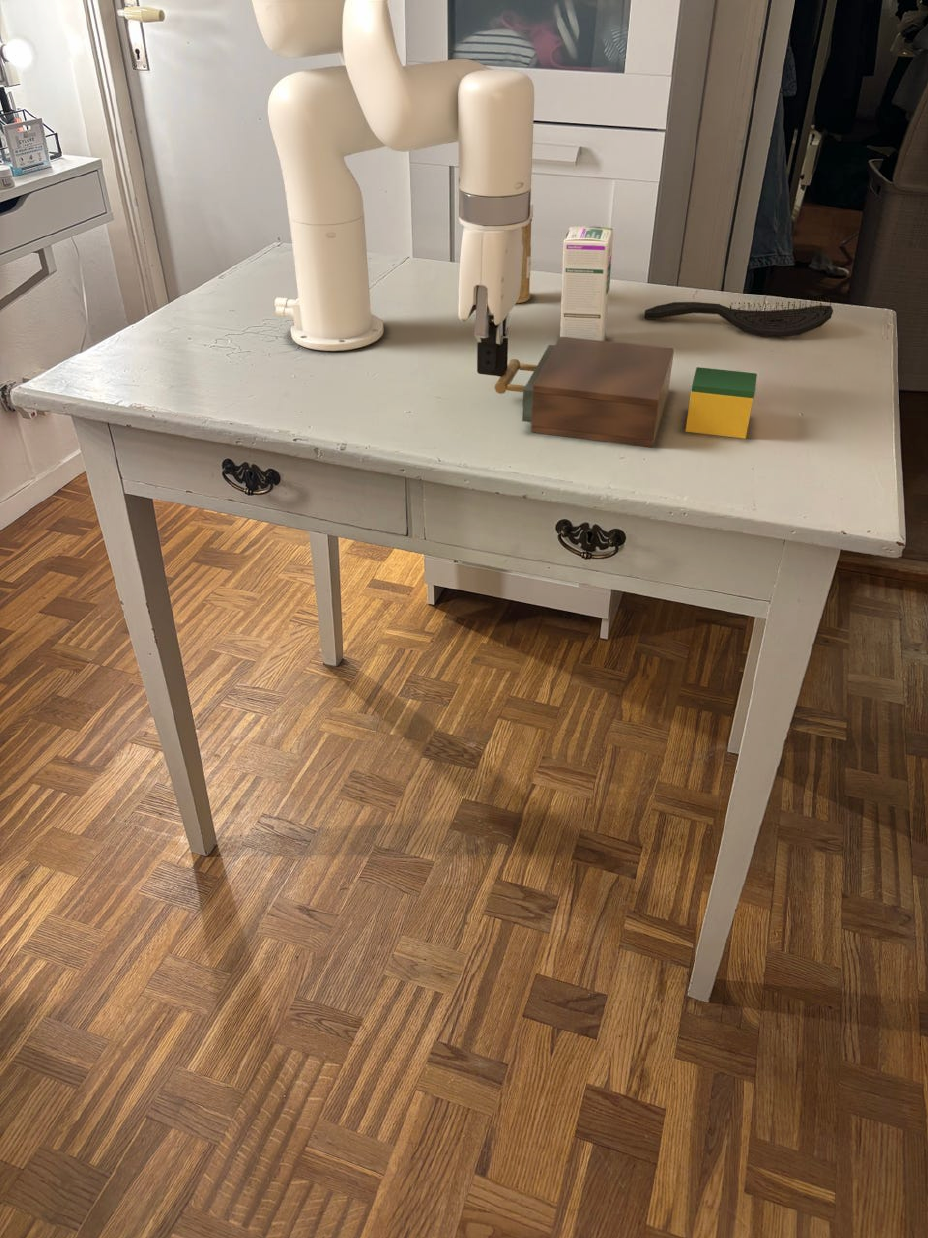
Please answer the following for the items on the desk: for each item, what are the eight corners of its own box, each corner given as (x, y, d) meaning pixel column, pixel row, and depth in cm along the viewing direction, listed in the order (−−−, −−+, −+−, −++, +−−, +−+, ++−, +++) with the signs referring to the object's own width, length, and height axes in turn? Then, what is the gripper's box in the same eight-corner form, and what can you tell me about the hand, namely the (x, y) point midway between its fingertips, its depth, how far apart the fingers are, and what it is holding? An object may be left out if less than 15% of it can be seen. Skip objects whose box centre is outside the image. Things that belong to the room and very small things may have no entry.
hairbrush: (648, 287, 135) (832, 291, 129) (646, 312, 137) (828, 317, 131) (642, 307, 128) (836, 313, 123) (641, 333, 131) (831, 340, 125)
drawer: (486, 416, 107) (487, 385, 105) (515, 370, 117) (516, 340, 115) (632, 435, 103) (636, 402, 101) (649, 385, 113) (653, 355, 111)
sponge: (685, 431, 106) (692, 384, 102) (689, 412, 109) (696, 366, 106) (745, 438, 104) (754, 391, 101) (748, 419, 108) (757, 372, 104)
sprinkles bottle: (536, 298, 140) (540, 202, 131) (515, 306, 137) (517, 209, 129) (513, 291, 142) (516, 196, 134) (492, 298, 140) (493, 202, 131)
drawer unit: (530, 432, 106) (532, 385, 102) (557, 380, 117) (560, 336, 113) (652, 447, 103) (658, 399, 99) (668, 392, 114) (674, 347, 110)
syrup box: (602, 355, 123) (612, 240, 114) (557, 352, 124) (563, 237, 115) (606, 338, 127) (615, 226, 118) (562, 335, 128) (568, 224, 119)
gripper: (480, 186, 105) (479, 344, 117) (438, 223, 94) (441, 394, 105) (545, 191, 104) (538, 351, 115) (510, 229, 92) (506, 403, 104)
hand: (492, 371), depth 110 cm, fingers closed
